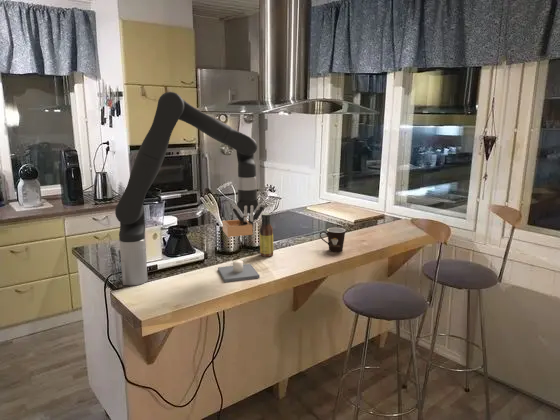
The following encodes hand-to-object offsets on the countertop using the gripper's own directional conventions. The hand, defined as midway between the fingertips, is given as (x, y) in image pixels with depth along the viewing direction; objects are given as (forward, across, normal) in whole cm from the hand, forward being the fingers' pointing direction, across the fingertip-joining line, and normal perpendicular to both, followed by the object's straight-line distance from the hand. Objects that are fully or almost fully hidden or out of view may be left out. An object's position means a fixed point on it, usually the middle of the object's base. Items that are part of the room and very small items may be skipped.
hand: (247, 230), depth 175 cm
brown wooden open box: (+1, -4, 0) cm, 4 cm away
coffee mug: (+19, +47, +17) cm, 53 cm away
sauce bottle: (+18, +14, +19) cm, 30 cm away
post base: (+18, -4, 0) cm, 19 cm away
